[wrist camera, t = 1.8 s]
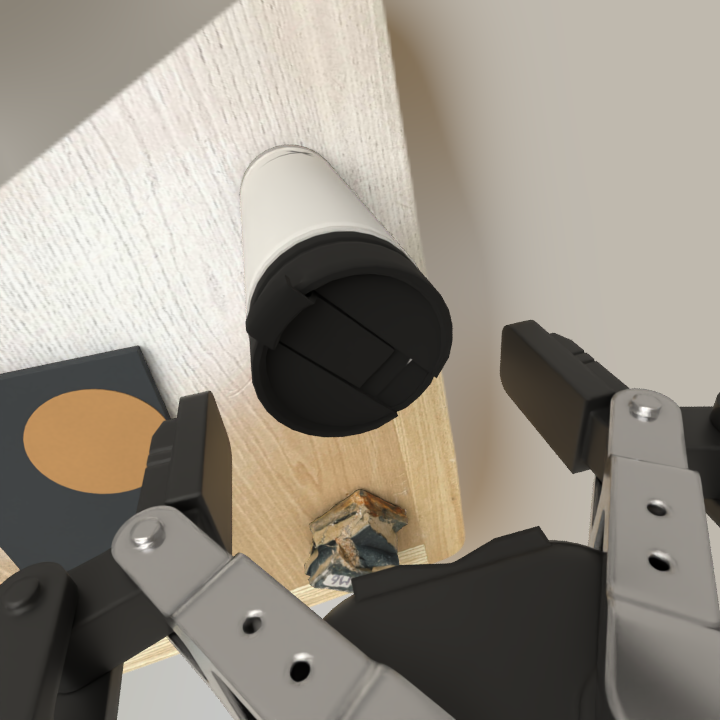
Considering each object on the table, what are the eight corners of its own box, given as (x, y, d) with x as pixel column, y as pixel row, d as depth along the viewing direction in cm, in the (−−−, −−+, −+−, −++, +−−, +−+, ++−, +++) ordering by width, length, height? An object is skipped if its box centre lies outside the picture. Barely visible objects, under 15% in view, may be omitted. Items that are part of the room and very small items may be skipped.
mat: (-116, 397, 31) (-124, 406, 30) (138, 345, 33) (136, 351, 32) (35, 576, 42) (32, 585, 42) (219, 529, 44) (218, 537, 43)
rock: (408, 500, 48) (427, 549, 43) (358, 560, 51) (371, 611, 47) (335, 479, 44) (347, 529, 39) (286, 545, 47) (292, 599, 43)
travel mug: (277, 115, 28) (343, 208, 11) (360, 191, 31) (506, 349, 14) (213, 201, 29) (190, 393, 13) (299, 265, 33) (367, 482, 16)
